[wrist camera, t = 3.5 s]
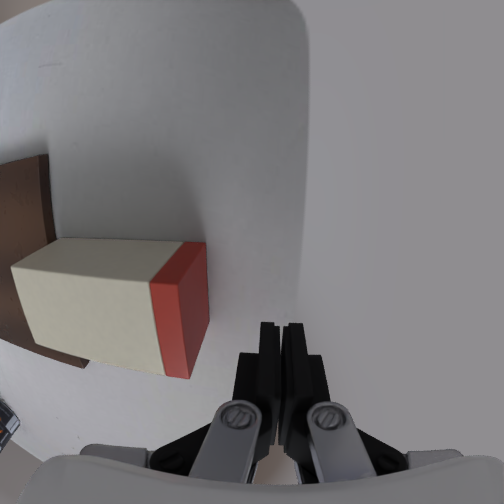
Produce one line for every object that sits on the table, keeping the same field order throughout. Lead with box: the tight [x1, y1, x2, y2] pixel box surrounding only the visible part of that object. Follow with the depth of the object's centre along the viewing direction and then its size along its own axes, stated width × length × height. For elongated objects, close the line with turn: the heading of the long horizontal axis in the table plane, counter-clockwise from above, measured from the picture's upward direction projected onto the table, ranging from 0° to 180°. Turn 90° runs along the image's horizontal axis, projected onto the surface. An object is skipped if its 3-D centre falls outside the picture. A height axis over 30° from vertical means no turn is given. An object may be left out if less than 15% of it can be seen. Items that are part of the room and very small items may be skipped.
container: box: [11, 238, 209, 379], centre depth 14 cm, size 5×10×5 cm, turn 89°
